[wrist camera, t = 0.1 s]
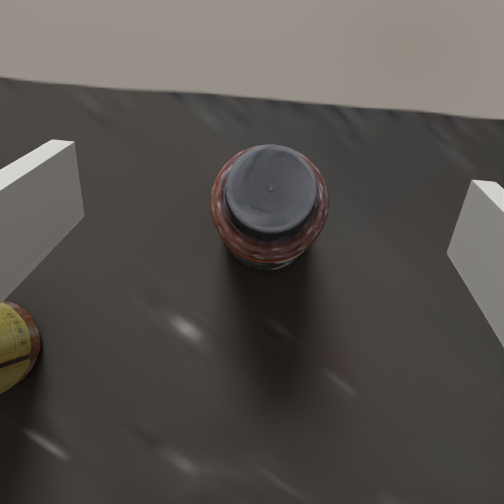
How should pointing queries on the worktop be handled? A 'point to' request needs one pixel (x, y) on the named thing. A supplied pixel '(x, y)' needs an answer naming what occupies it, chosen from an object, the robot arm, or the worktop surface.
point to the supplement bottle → (269, 205)
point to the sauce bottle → (16, 344)
